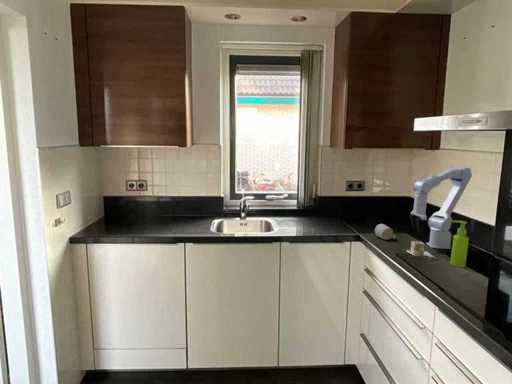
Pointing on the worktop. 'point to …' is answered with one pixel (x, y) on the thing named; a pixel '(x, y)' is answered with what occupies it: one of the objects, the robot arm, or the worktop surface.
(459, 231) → the soap dispenser
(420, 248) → the maple block
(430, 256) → the blue-grey mat
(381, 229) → the ceramic mug
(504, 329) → the worktop surface
